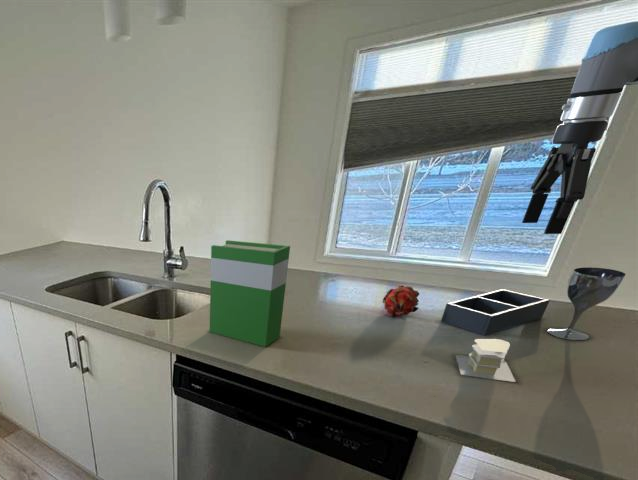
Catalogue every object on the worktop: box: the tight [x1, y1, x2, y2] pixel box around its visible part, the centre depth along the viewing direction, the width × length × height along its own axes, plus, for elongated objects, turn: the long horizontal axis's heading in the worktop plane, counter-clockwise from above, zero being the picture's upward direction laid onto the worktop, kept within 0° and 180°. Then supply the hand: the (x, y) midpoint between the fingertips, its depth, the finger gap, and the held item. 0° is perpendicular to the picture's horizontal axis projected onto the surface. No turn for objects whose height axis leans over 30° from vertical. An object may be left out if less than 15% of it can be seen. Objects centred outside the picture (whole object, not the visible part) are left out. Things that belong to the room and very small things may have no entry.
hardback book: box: [209, 239, 291, 348], centre depth 107 cm, size 18×7×24 cm, turn 44°
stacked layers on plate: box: [455, 338, 516, 383], centre depth 86 cm, size 10×9×6 cm
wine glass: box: [547, 266, 626, 341], centre depth 94 cm, size 8×8×15 cm
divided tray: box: [440, 288, 551, 336], centre depth 106 cm, size 11×21×5 cm, turn 110°
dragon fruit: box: [382, 285, 420, 317], centre depth 115 cm, size 8×8×12 cm
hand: (540, 228), depth 95 cm, fingers open, 13 cm apart
